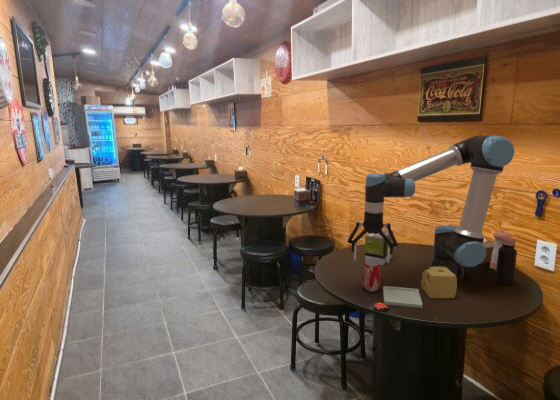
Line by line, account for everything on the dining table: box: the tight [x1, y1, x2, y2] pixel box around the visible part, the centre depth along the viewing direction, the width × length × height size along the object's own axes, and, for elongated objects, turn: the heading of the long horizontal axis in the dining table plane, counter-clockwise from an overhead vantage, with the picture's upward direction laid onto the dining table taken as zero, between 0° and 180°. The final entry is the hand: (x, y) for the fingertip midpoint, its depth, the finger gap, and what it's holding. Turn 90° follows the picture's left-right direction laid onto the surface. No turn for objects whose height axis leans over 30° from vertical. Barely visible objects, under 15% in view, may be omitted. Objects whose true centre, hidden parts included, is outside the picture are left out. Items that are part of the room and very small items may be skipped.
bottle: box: [494, 237, 518, 286], centre depth 154 cm, size 7×7×20 cm
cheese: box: [420, 267, 458, 299], centre depth 146 cm, size 10×11×10 cm
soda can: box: [362, 260, 381, 293], centre depth 151 cm, size 7×7×12 cm
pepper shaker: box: [489, 230, 512, 271], centre depth 170 cm, size 7×7×19 cm
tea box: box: [364, 228, 394, 266], centre depth 185 cm, size 15×10×15 cm, turn 144°
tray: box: [382, 285, 423, 309], centre depth 143 cm, size 14×14×2 cm
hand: (371, 260), depth 150 cm, fingers open, 13 cm apart
